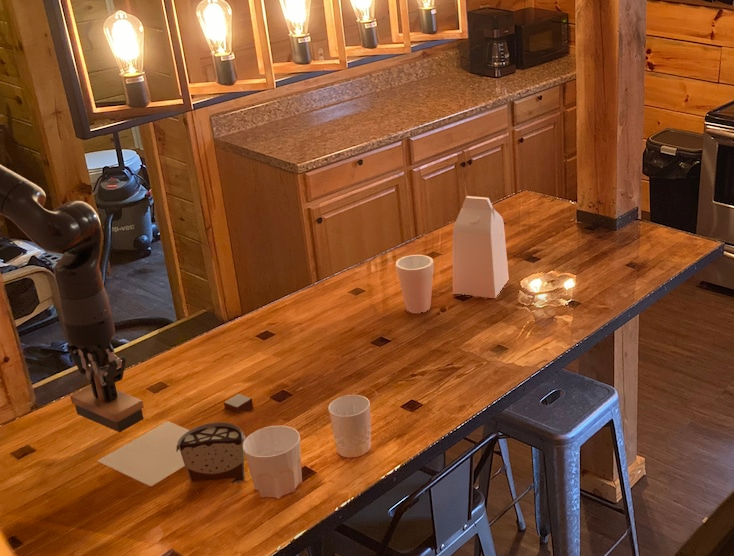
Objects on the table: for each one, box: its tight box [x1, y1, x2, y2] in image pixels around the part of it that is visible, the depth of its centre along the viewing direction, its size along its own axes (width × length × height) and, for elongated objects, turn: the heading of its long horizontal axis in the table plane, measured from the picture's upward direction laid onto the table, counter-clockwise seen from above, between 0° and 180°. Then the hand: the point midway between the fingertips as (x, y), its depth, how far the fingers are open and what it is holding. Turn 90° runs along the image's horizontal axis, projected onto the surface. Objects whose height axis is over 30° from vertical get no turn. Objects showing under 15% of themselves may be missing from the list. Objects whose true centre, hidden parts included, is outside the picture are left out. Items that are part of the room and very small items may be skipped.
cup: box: [242, 425, 303, 500], centre depth 176 cm, size 10×10×10 cm
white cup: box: [327, 394, 372, 459], centre depth 187 cm, size 8×8×10 cm
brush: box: [69, 372, 145, 433], centre depth 173 cm, size 13×6×9 cm, turn 61°
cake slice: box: [176, 421, 247, 484], centre depth 179 cm, size 12×6×10 cm, turn 100°
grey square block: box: [223, 393, 254, 415], centre depth 201 cm, size 4×4×2 cm
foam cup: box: [395, 254, 435, 314], centre depth 244 cm, size 10×9×13 cm
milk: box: [452, 195, 510, 299], centre depth 252 cm, size 12×12×26 cm
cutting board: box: [96, 420, 191, 487], centre depth 186 cm, size 16×16×1 cm
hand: (106, 397), depth 174 cm, fingers closed on brush, 2 cm apart
